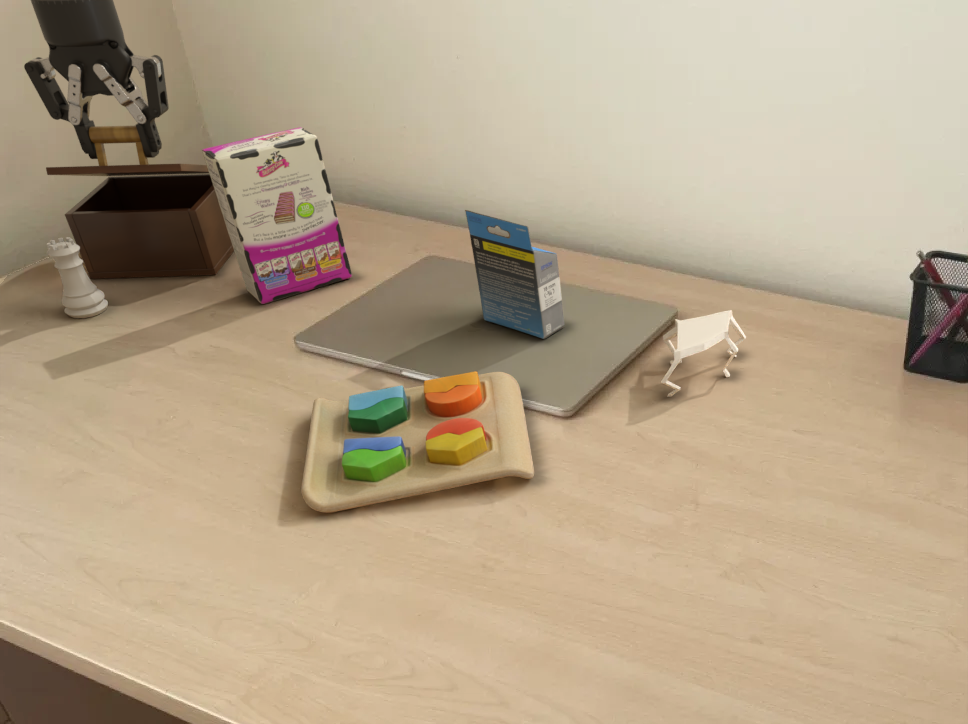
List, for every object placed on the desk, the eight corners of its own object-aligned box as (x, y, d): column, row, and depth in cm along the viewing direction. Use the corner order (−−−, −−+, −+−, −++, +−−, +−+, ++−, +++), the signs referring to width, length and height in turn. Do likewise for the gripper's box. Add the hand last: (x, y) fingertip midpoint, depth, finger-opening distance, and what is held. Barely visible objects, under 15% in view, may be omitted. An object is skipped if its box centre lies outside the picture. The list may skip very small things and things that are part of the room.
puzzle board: (319, 411, 100) (310, 379, 98) (520, 386, 103) (515, 355, 101) (304, 518, 87) (294, 483, 85) (536, 486, 90) (531, 452, 88)
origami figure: (672, 344, 110) (670, 300, 107) (750, 353, 108) (750, 309, 105) (635, 401, 101) (632, 355, 98) (720, 412, 99) (719, 365, 96)
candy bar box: (336, 265, 127) (301, 124, 117) (354, 278, 124) (320, 135, 114) (243, 292, 121) (199, 146, 111) (260, 306, 118) (215, 158, 108)
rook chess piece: (118, 307, 118) (91, 238, 114) (81, 323, 115) (52, 253, 111) (93, 298, 120) (66, 230, 115) (57, 314, 117) (27, 244, 112)
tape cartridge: (567, 326, 114) (555, 214, 106) (543, 341, 111) (529, 227, 103) (505, 307, 117) (489, 197, 110) (481, 320, 115) (463, 209, 107)
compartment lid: (181, 171, 117) (172, 122, 116) (47, 174, 117) (36, 126, 115) (229, 172, 130) (221, 129, 129) (108, 176, 130) (99, 132, 128)
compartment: (215, 275, 125) (195, 210, 120) (90, 279, 125) (64, 214, 120) (247, 234, 135) (229, 173, 130) (131, 237, 135) (108, 176, 130)
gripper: (153, -17, 113) (201, 145, 123) (15, -15, 112) (74, 147, 122) (125, -4, 107) (178, 165, 117) (-21, -2, 106) (45, 168, 116)
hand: (125, 155), depth 120 cm, fingers closed on compartment lid, 5 cm apart
